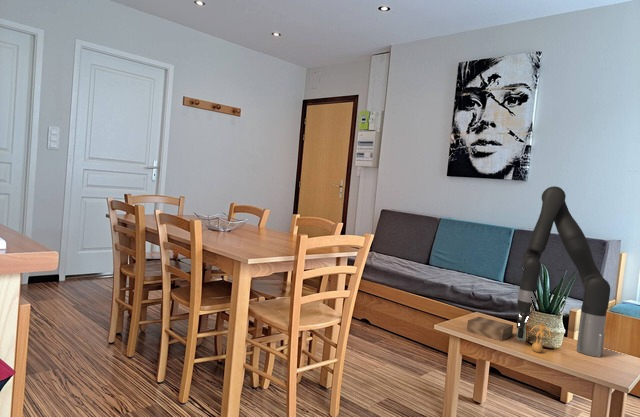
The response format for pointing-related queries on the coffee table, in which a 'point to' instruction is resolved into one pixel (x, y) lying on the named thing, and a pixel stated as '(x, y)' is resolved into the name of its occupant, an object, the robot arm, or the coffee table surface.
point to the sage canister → (523, 335)
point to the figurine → (537, 346)
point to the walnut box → (490, 328)
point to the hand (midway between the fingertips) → (522, 336)
